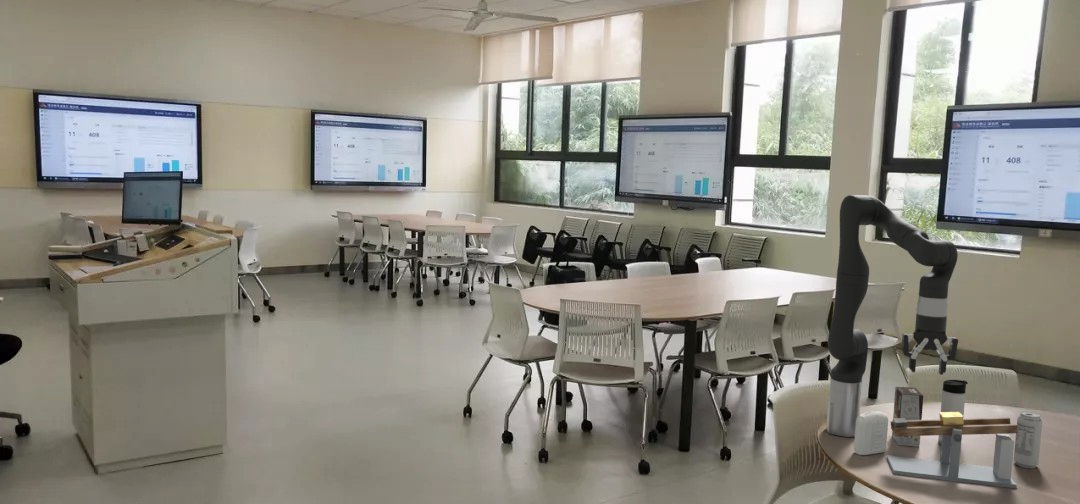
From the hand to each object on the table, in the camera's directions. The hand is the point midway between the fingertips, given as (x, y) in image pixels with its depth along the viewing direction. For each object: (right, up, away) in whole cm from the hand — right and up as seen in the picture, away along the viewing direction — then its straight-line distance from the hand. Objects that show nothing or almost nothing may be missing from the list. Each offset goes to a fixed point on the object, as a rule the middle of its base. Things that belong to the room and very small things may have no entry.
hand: (926, 372), depth 214 cm
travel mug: (+19, -26, +24) cm, 40 cm away
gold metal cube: (+7, -15, 0) cm, 16 cm away
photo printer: (-9, -26, +16) cm, 32 cm away
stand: (+6, -28, +1) cm, 29 cm away
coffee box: (+6, -25, +26) cm, 37 cm away
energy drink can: (+32, -28, +8) cm, 44 cm away
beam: (+7, -16, 0) cm, 17 cm away
